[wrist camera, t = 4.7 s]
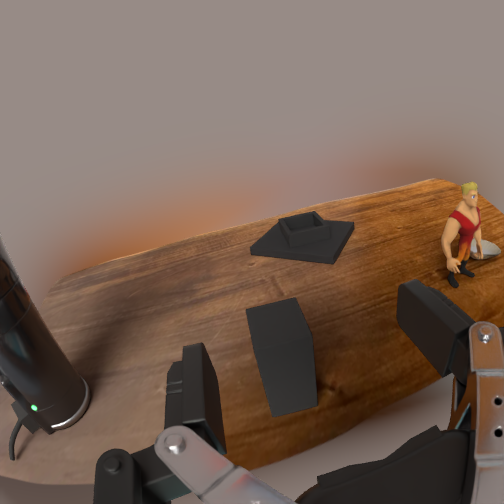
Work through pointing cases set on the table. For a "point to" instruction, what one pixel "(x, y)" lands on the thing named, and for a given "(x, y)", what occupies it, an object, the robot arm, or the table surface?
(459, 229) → the action figure
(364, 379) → the table surface
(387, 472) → the robot arm
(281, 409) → the black rectangular block
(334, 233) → the socket pad
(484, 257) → the scallop shell
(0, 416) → the table surface
